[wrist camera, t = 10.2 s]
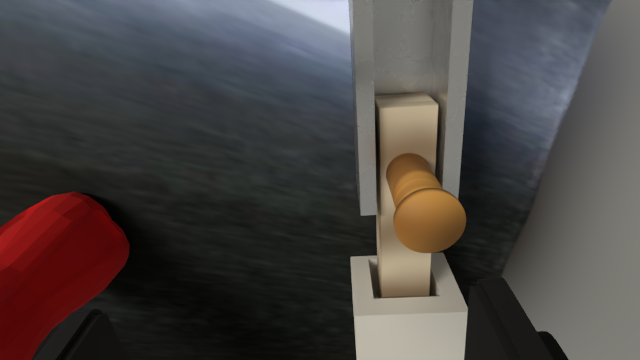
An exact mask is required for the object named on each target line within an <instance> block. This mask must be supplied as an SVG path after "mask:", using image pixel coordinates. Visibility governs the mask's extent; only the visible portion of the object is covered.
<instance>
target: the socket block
mask: <svg viewBox="0 0 640 360" xmlns="http://www.w3.org/2000/svg"><path fill="white" fill-rule="evenodd" d="M351 276H352V294H353V311H354V326H355V341H356V356H357V360H464V354H465V341H466V327H467V314H468V307H467V305H466V303H465V301H464V298H463V296H462V294H461V292H460V289H459V287H458V285H457V283H456V280H455V278H454V276H453V274H452V272H451V269H450V267H449V265H448V263H447V260H446V258H445V256H444V254H443V253H431V267H430V288H429V297H406V298H380V299H378V273H377V256H357V257H351Z"/></svg>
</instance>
